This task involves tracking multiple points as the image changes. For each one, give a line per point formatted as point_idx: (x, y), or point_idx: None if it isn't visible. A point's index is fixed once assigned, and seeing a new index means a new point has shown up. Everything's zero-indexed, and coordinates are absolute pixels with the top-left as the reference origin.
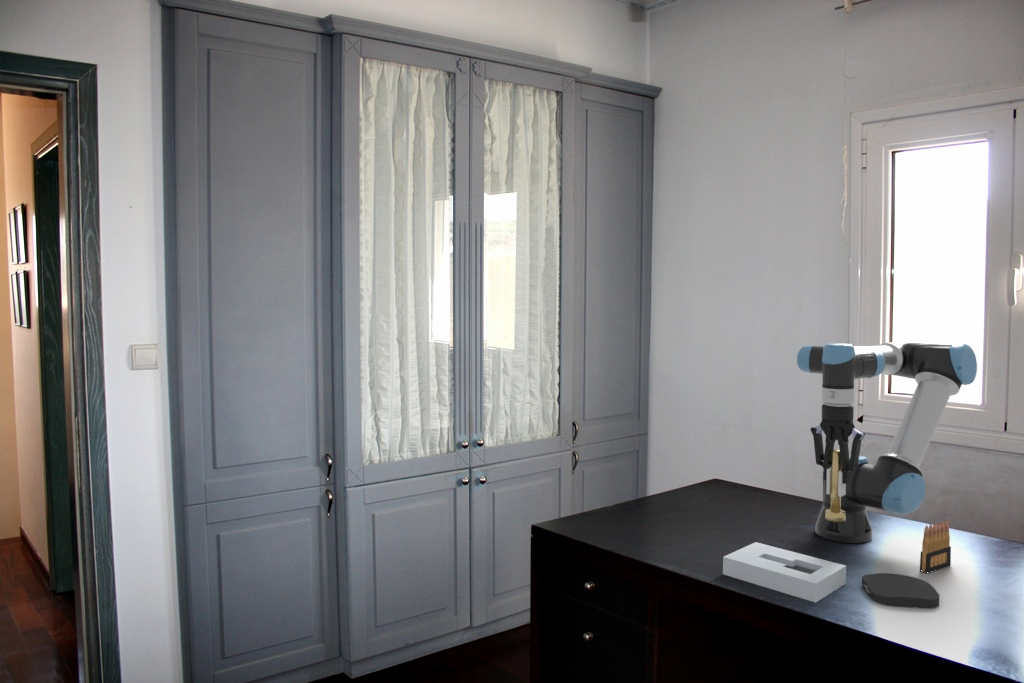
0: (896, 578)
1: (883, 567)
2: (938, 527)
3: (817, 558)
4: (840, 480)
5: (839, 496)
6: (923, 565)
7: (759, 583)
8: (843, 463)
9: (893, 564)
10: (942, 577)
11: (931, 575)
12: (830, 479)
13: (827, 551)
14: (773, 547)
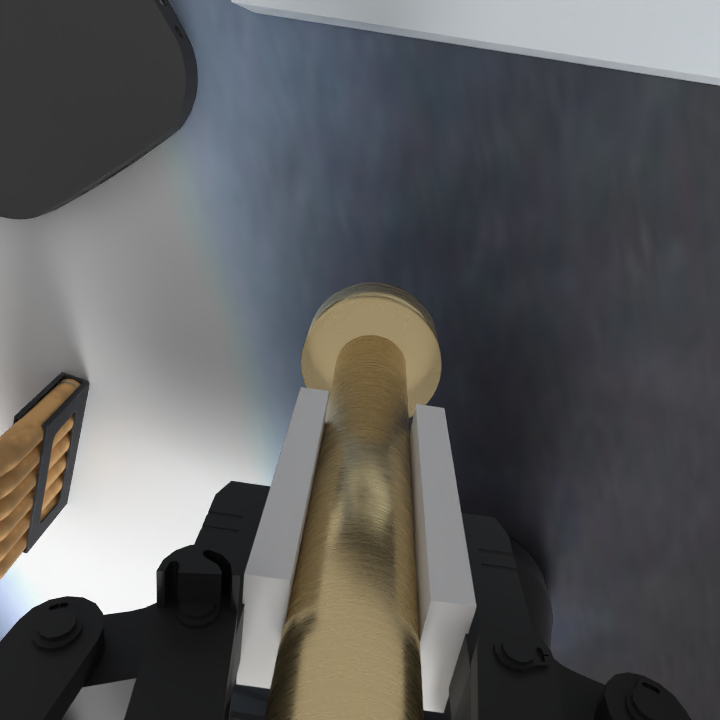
0: (37, 111)
1: (206, 344)
2: None
3: (405, 24)
4: (282, 488)
5: (327, 414)
6: (60, 390)
7: None
8: (175, 706)
9: (189, 399)
10: (4, 365)
11: (40, 362)
12: (417, 516)
13: (448, 400)
14: (687, 55)
